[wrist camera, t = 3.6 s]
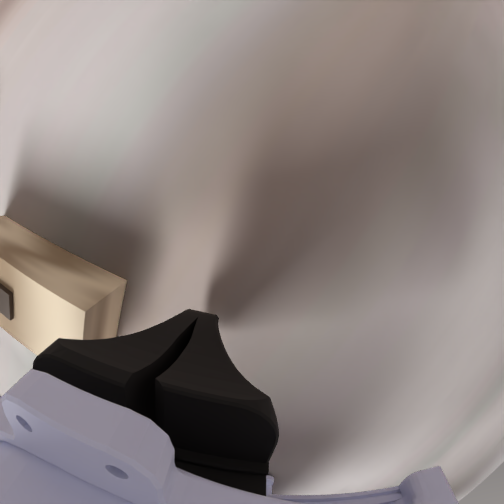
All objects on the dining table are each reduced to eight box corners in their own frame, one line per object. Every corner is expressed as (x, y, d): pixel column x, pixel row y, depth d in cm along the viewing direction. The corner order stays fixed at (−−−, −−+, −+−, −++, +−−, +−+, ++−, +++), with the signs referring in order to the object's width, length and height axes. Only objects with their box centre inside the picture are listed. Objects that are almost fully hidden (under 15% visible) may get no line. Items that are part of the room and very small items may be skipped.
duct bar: (129, 279, 13) (81, 314, 9) (116, 342, 14) (78, 387, 9) (6, 214, 12) (-43, 225, 8) (2, 271, 13) (-41, 291, 9)
